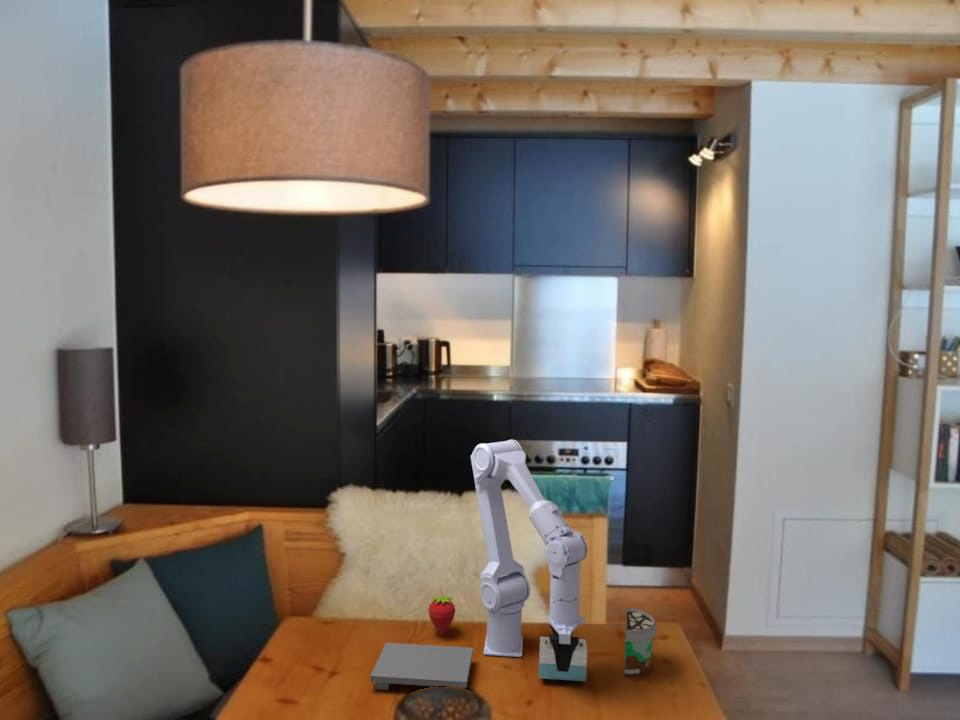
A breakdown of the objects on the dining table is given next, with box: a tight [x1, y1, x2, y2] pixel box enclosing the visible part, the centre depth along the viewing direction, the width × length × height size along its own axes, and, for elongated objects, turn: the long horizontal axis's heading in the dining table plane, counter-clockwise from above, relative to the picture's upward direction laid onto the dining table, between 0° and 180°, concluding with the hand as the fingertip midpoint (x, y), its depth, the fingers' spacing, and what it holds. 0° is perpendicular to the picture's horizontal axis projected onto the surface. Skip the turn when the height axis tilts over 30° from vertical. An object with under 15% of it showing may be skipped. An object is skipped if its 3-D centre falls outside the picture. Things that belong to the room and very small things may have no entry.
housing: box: [538, 636, 588, 682], centre depth 144 cm, size 5×9×6 cm, turn 85°
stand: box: [369, 642, 474, 691], centre depth 145 cm, size 14×18×3 cm
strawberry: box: [428, 589, 456, 636], centre depth 163 cm, size 6×8×10 cm
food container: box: [623, 607, 658, 678], centre depth 150 cm, size 12×6×10 cm, turn 168°
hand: (562, 663), depth 144 cm, fingers closed on housing, 5 cm apart
